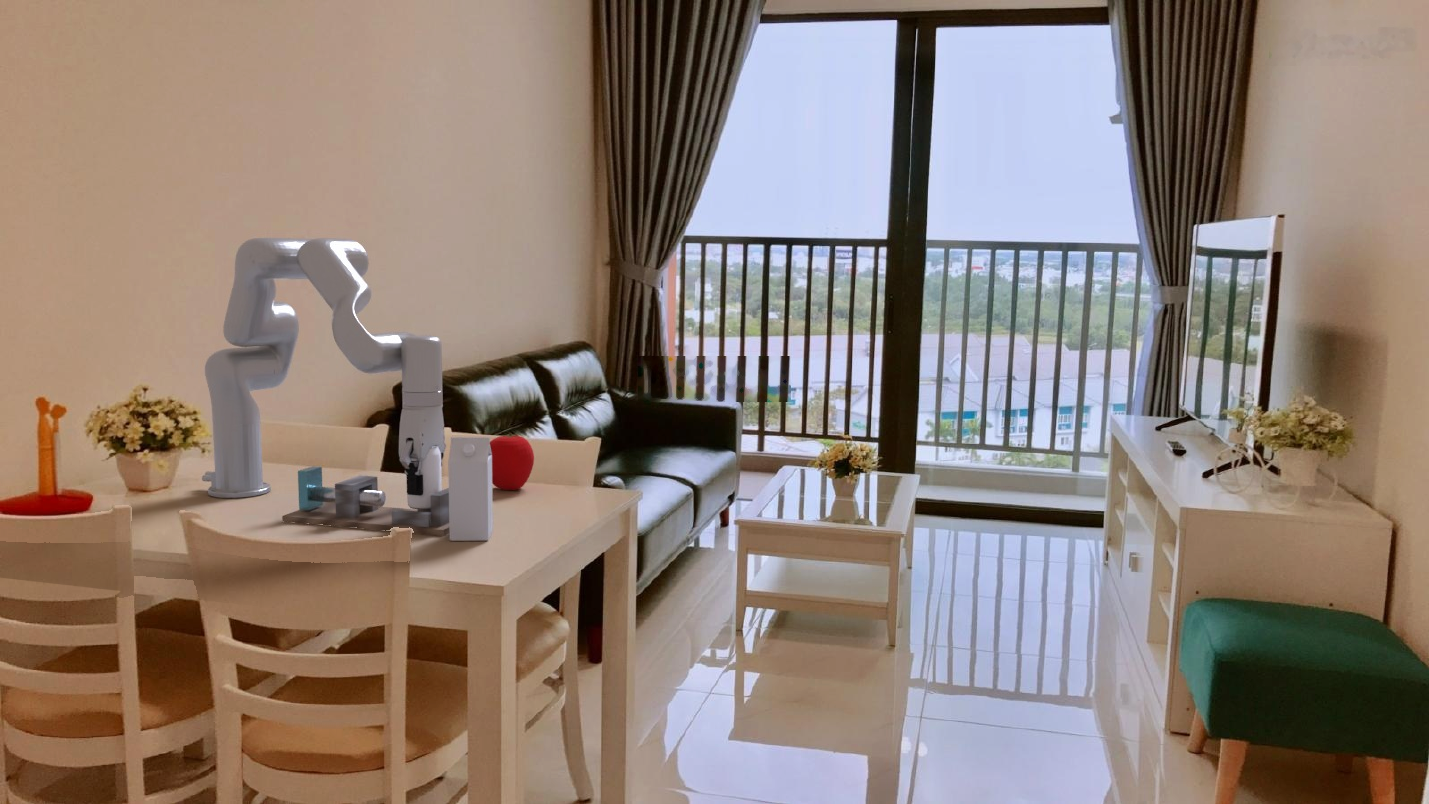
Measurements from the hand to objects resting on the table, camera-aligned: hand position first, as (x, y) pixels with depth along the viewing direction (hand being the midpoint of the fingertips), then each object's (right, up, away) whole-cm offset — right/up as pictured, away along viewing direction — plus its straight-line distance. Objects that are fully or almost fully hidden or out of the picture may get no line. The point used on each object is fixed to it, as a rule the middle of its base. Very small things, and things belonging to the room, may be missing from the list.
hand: (424, 490), depth 213 cm
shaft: (-17, -4, +5) cm, 19 cm away
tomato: (+10, -3, +34) cm, 36 cm away
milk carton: (+11, -8, -7) cm, 15 cm away
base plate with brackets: (-10, -6, +3) cm, 12 cm away
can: (0, -3, 0) cm, 3 cm away
